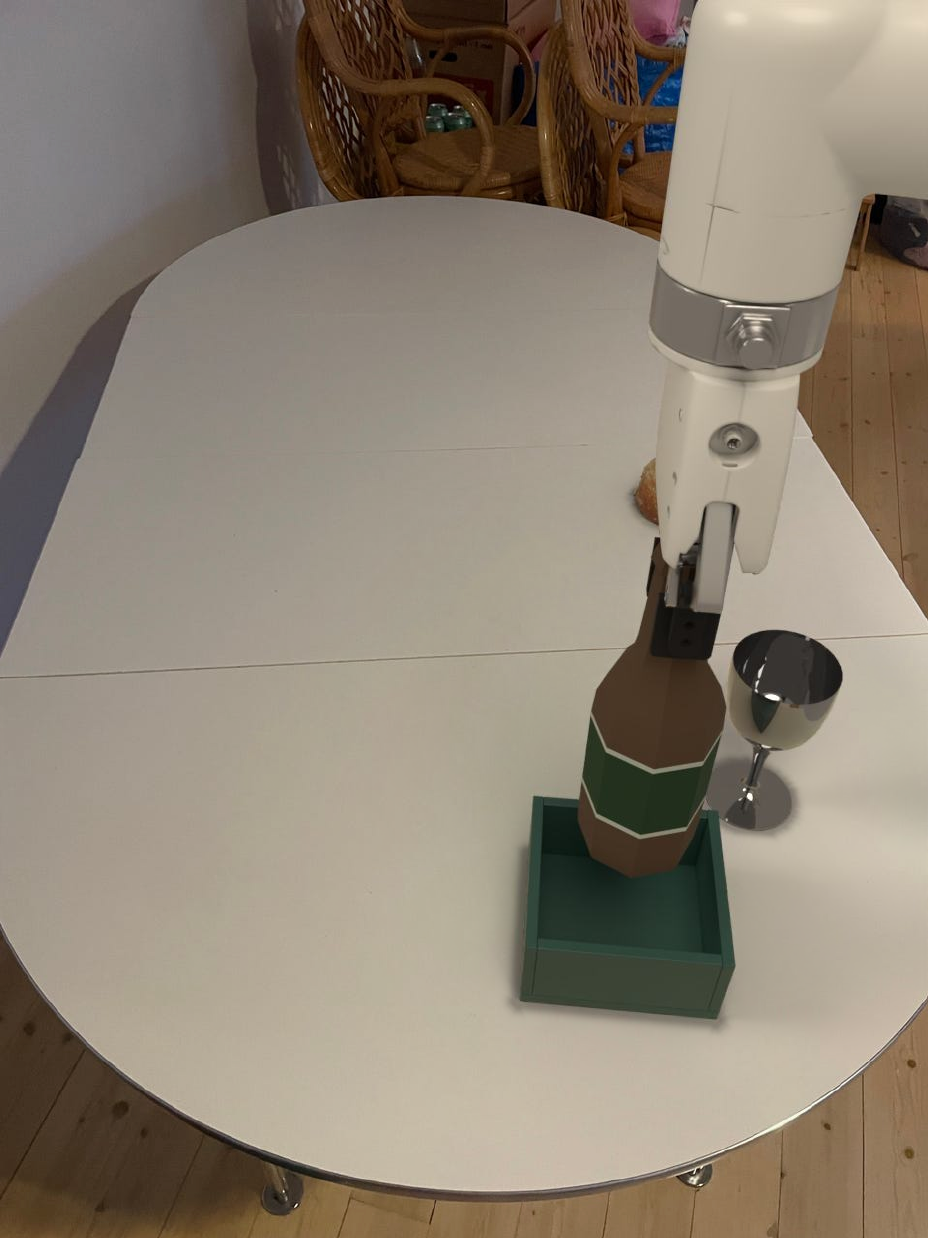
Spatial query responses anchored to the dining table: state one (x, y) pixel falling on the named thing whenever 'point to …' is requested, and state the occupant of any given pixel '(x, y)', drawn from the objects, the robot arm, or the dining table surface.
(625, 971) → the tub
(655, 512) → the bread roll
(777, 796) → the wine glass
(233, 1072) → the dining table surface
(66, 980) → the dining table surface
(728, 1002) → the dining table surface
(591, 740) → the beer bottle
